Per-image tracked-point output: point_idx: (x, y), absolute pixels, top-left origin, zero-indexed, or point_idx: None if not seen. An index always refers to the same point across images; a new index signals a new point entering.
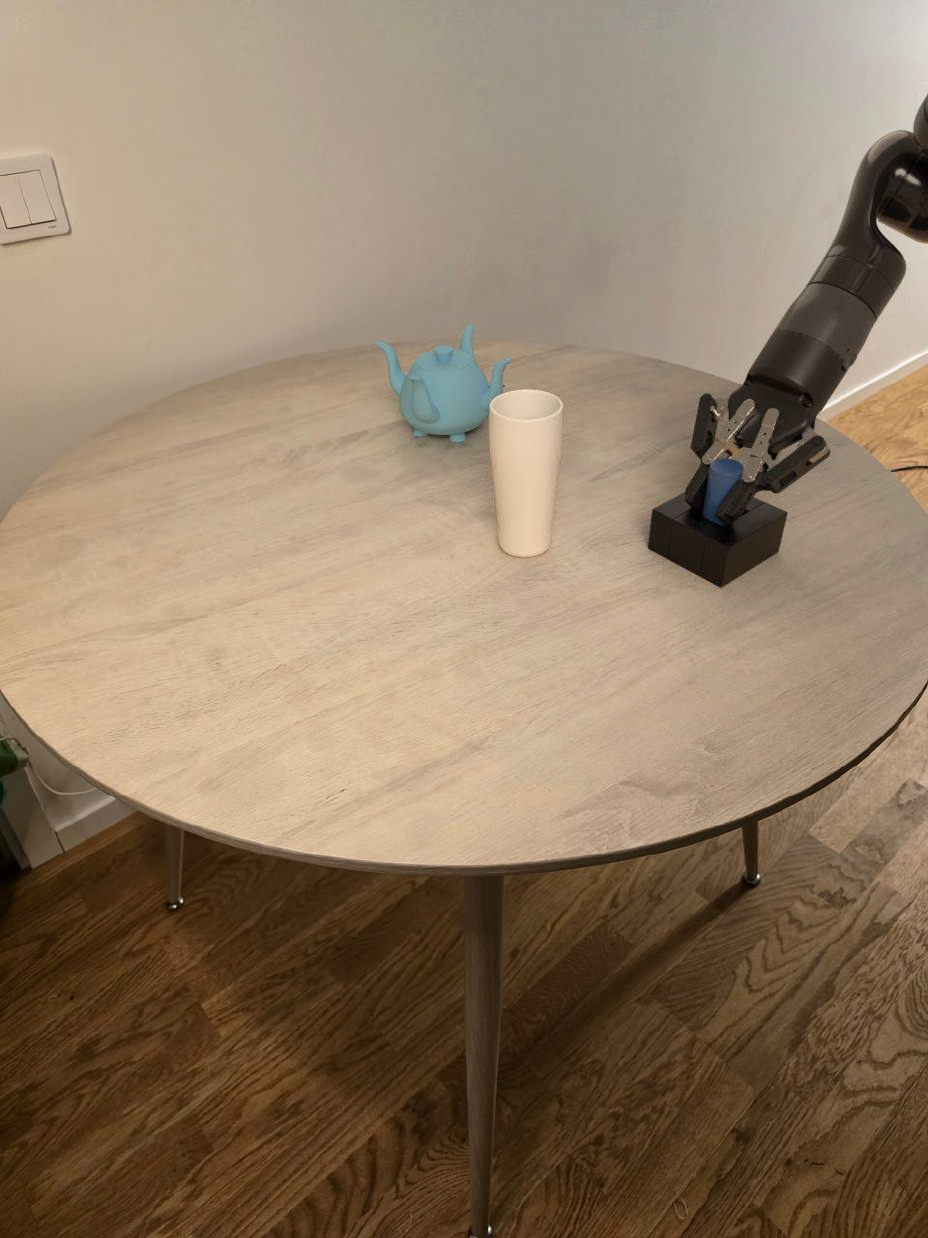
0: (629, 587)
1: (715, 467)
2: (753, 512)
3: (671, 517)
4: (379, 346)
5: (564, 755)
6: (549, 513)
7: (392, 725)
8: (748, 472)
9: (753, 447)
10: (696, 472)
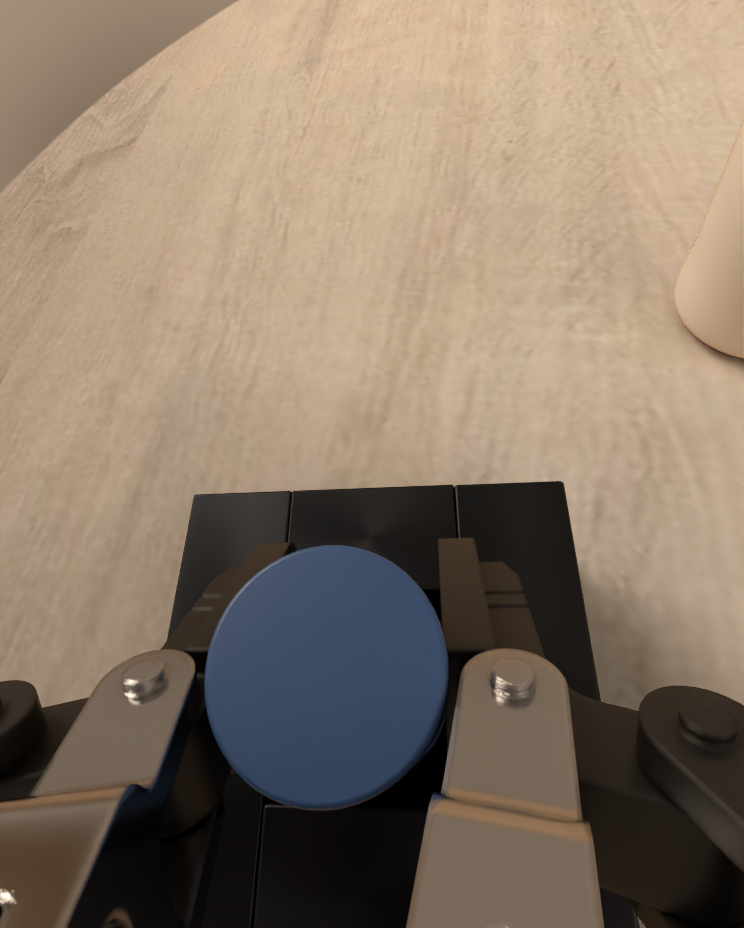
0: (424, 386)
1: (369, 584)
2: (241, 807)
3: (466, 491)
4: None
5: (217, 116)
6: (731, 213)
7: (410, 19)
8: (153, 696)
9: (87, 837)
10: (532, 634)
